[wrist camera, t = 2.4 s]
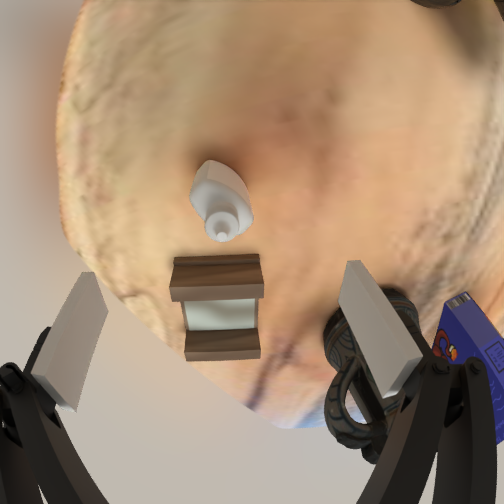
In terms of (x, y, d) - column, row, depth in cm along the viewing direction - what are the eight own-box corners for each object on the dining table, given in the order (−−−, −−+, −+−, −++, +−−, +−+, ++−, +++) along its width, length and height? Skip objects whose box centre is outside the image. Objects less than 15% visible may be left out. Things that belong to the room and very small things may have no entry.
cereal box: (445, 352, 54) (494, 445, 29) (426, 362, 55) (474, 460, 29) (465, 291, 43) (544, 404, 17) (444, 302, 43) (523, 426, 18)
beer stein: (403, 337, 47) (457, 444, 25) (308, 370, 48) (341, 495, 27) (413, 271, 38) (503, 401, 17) (294, 310, 39) (343, 484, 18)
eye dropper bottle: (233, 149, 27) (239, 186, 17) (250, 198, 30) (266, 260, 20) (192, 164, 27) (173, 211, 17) (212, 211, 30) (208, 279, 20)
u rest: (174, 257, 33) (168, 283, 28) (258, 254, 33) (264, 279, 29) (189, 336, 40) (187, 363, 36) (256, 334, 41) (260, 360, 37)
